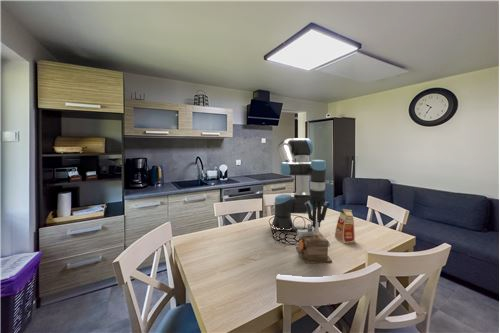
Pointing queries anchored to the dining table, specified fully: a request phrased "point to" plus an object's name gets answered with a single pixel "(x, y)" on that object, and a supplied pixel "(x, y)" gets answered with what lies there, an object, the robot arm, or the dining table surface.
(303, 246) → the lynch pin
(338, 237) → the milk carton
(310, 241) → the hitch block
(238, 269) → the dining table surface
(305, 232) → the keeper bar
